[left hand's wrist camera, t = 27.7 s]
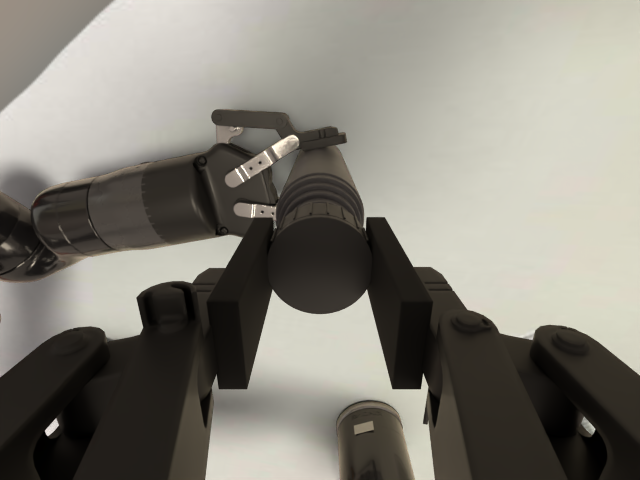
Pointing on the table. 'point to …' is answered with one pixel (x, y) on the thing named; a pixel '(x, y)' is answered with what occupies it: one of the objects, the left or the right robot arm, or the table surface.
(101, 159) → the table surface
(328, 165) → the bottle
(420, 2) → the table surface
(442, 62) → the table surface
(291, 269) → the cap
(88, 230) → the right robot arm
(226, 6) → the table surface
